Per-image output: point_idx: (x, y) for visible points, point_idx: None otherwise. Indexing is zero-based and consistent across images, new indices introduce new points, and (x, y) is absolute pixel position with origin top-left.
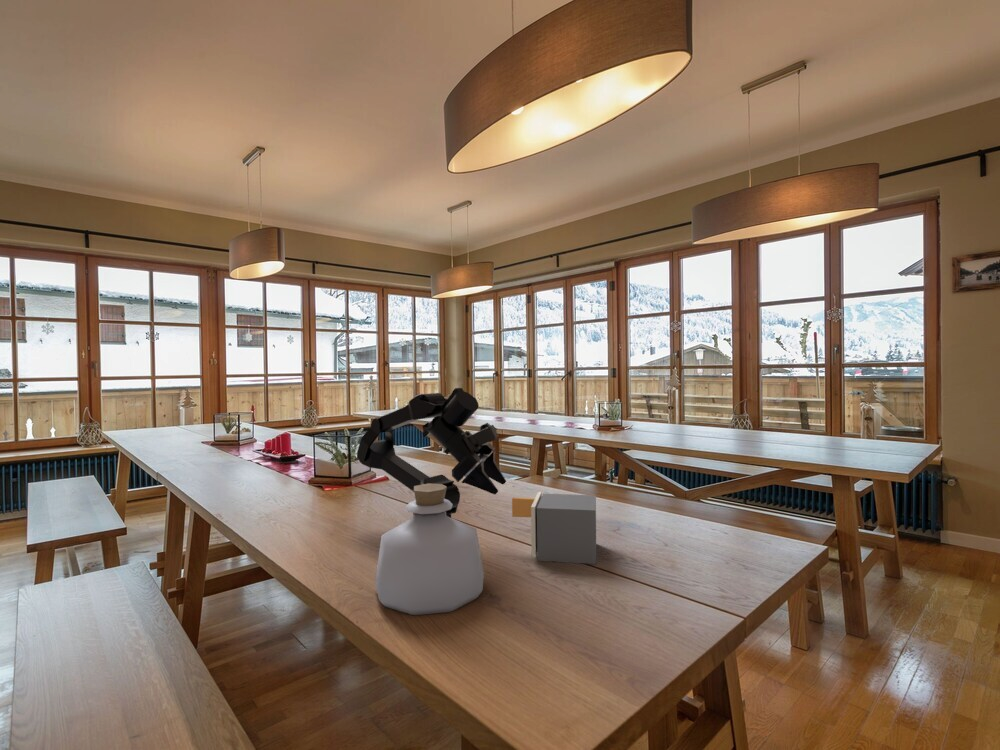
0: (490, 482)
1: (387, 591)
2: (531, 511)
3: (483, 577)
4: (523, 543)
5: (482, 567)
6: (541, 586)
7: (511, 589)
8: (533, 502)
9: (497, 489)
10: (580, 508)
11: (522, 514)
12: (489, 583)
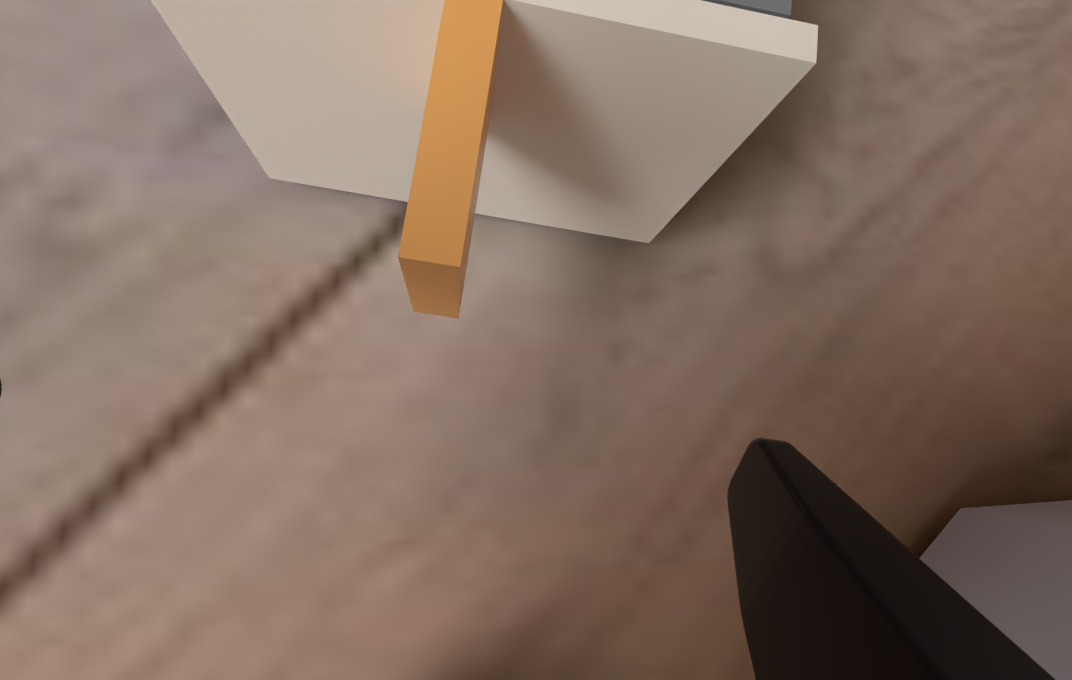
0: (972, 612)
1: None
2: (791, 87)
3: (1016, 505)
4: (340, 293)
5: (1024, 518)
6: (937, 220)
7: (987, 359)
8: (637, 22)
9: (773, 450)
10: None
11: (474, 213)
12: (942, 474)
